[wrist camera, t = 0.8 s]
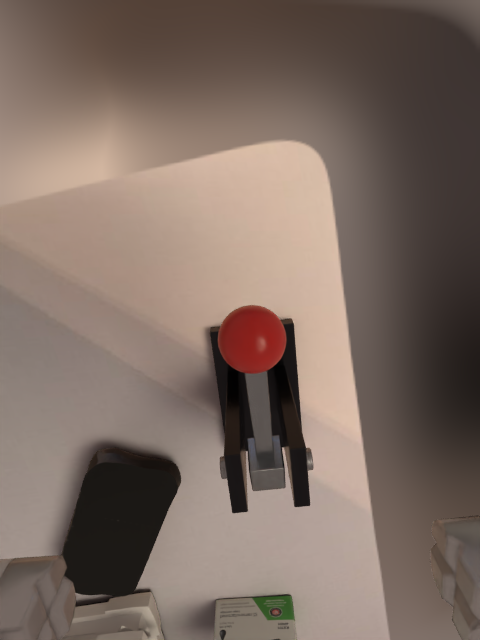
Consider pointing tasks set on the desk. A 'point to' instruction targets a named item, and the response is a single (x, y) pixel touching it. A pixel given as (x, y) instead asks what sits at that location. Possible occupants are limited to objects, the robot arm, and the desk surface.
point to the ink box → (255, 619)
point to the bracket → (282, 421)
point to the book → (117, 620)
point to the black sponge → (117, 521)
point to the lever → (257, 385)
